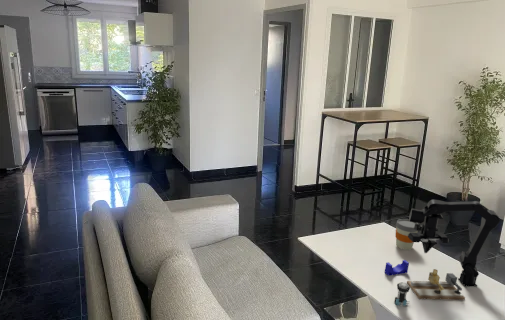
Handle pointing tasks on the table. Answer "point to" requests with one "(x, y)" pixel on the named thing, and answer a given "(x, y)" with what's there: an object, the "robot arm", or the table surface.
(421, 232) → the robot arm
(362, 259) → the table surface
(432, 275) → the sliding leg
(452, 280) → the fixed leg
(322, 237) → the table surface
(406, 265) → the cable clip
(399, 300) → the push button
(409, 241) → the reusable coffee cup
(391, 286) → the table surface
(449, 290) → the board
